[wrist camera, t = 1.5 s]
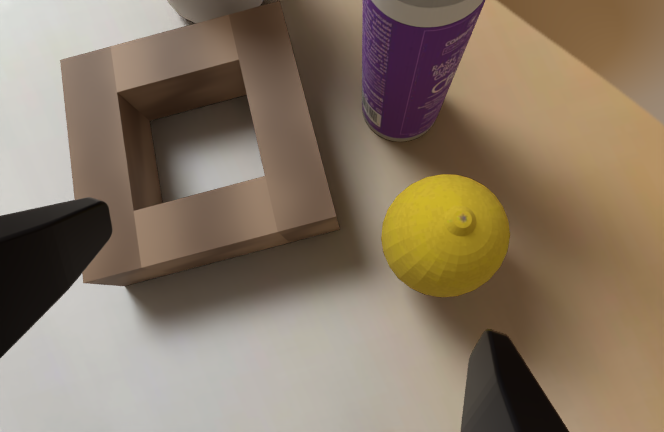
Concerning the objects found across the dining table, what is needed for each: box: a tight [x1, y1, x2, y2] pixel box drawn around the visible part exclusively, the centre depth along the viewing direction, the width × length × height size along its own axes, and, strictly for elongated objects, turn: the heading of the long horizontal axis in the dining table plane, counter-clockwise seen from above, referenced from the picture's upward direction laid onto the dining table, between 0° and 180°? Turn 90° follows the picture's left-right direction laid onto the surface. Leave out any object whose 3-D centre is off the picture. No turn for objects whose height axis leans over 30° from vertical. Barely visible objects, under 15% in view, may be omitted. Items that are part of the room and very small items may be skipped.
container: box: [362, 0, 485, 141], centre depth 17 cm, size 5×5×15 cm
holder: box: [60, 1, 340, 286], centre depth 23 cm, size 13×13×4 cm
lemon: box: [381, 174, 510, 297], centre depth 18 cm, size 6×6×8 cm
